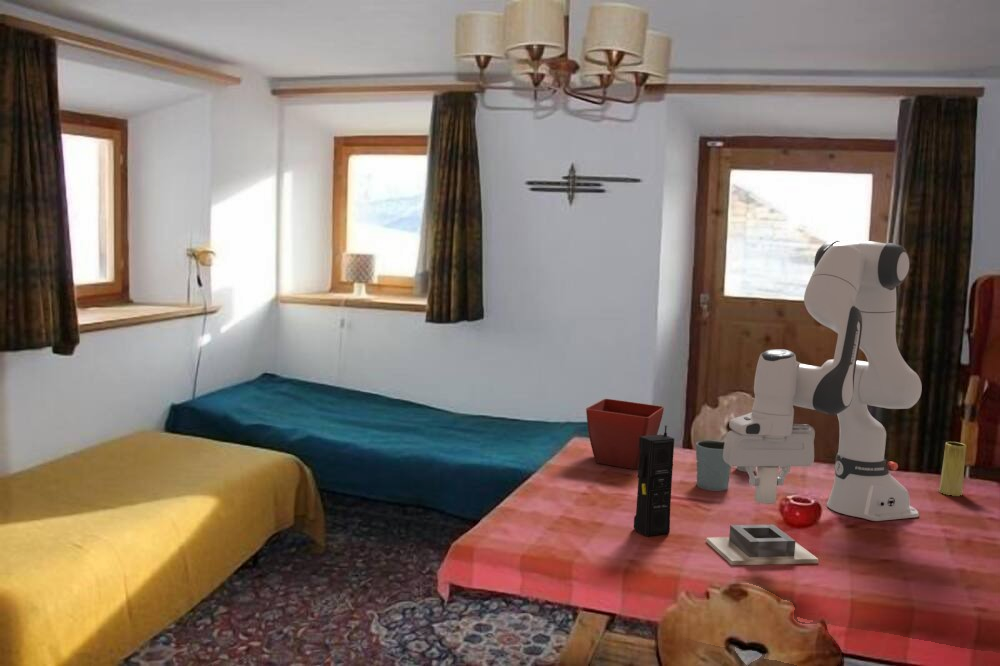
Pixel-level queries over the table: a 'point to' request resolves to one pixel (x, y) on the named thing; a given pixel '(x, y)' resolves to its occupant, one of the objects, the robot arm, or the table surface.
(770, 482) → the connector plug
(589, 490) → the table surface
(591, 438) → the plant pot
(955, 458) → the vase
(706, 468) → the teal cup
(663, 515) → the portable radio
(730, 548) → the end holder
